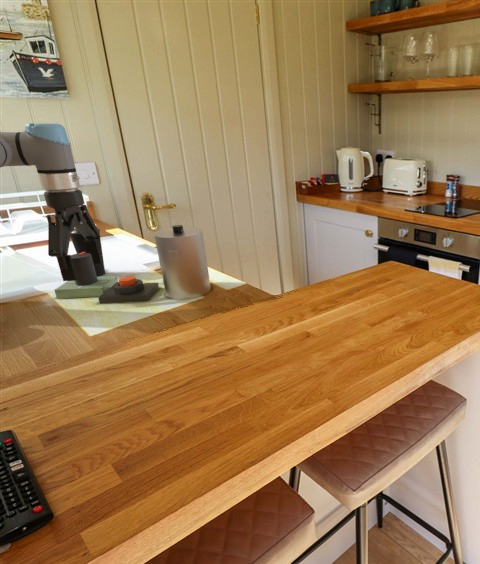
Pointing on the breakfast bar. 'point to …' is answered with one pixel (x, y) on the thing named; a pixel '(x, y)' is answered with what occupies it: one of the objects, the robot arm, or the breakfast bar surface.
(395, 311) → the breakfast bar surface
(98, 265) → the drinking cup
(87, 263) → the dial
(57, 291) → the dial panel
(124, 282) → the power switch
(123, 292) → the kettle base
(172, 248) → the metal canister
